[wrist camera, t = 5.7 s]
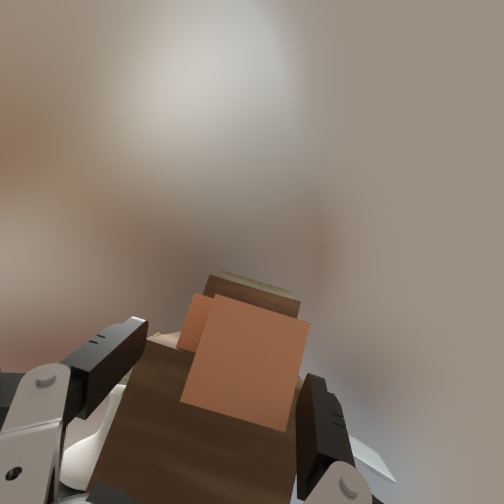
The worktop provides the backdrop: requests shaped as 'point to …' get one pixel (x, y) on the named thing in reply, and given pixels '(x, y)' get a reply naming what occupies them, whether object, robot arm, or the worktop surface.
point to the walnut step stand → (196, 427)
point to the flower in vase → (89, 447)
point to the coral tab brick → (242, 359)
